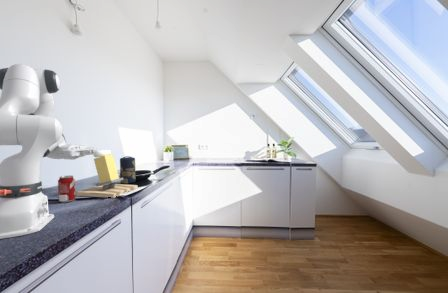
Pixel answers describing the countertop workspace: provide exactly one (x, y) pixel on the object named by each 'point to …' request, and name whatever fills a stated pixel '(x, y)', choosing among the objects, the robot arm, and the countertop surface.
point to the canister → (127, 169)
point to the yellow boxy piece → (105, 167)
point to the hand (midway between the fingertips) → (92, 152)
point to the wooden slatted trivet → (107, 190)
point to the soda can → (66, 189)
